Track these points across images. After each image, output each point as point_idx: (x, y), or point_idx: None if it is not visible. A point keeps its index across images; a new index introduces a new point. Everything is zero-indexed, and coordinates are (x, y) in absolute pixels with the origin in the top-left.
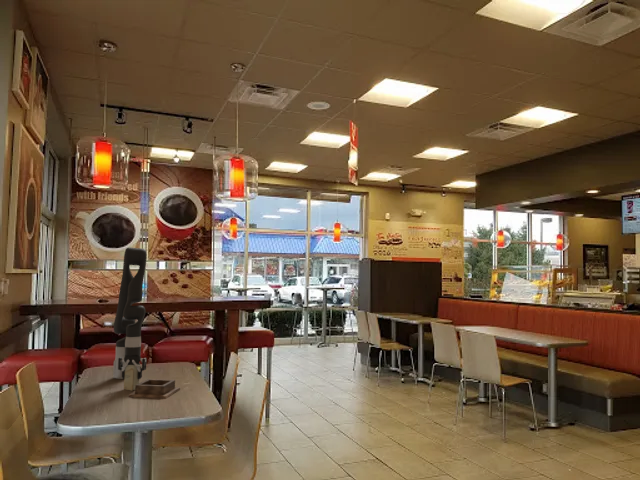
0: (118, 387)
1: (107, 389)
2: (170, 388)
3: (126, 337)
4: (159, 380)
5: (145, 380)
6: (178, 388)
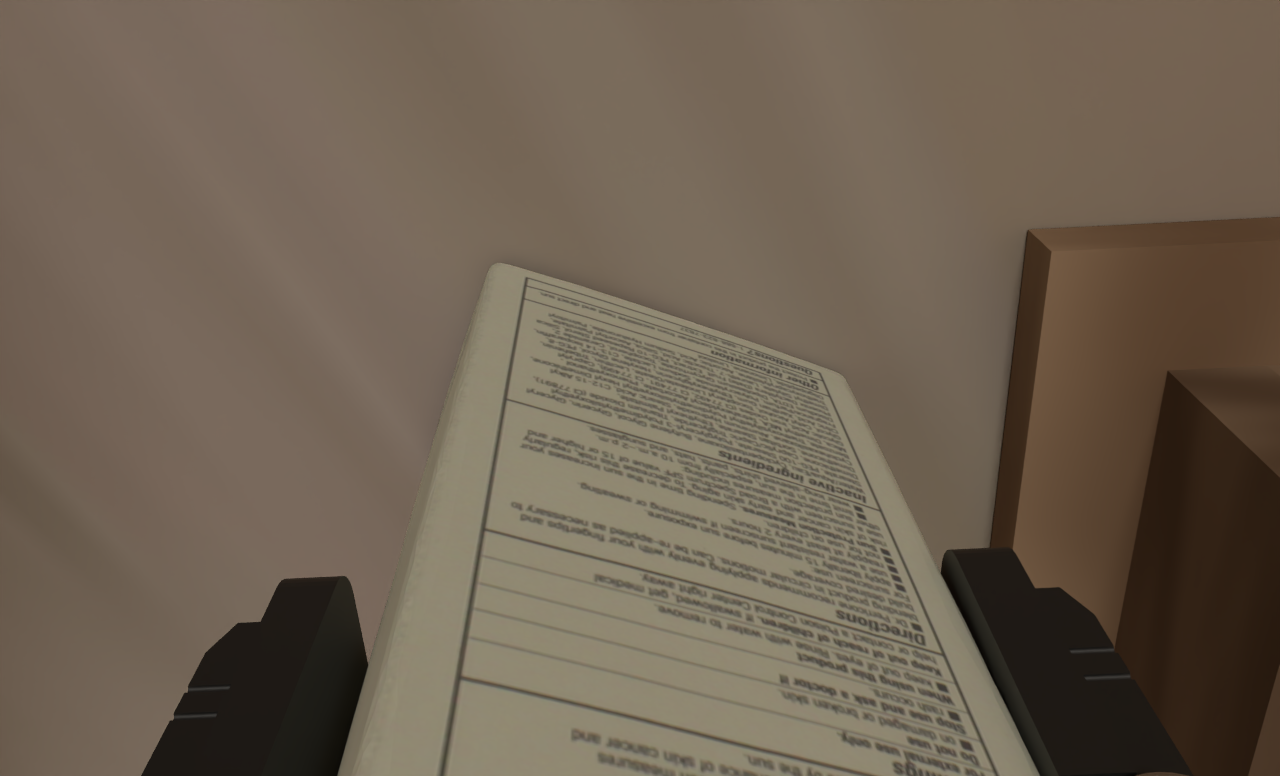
0: (109, 290)
1: (7, 565)
2: None
3: None
4: None
5: (1271, 725)
6: None
